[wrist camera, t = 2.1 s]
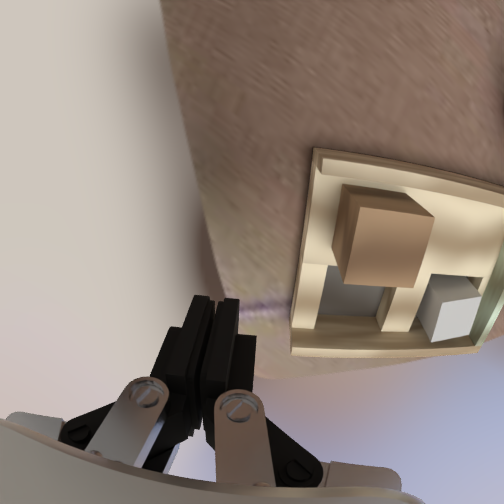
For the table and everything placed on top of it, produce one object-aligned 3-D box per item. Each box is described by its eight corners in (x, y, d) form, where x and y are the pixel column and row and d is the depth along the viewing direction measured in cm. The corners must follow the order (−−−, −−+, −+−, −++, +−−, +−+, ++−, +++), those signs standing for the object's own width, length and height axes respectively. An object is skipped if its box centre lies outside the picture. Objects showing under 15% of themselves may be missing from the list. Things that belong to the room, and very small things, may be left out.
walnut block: (342, 183, 21) (360, 206, 16) (405, 193, 21) (435, 217, 16) (331, 247, 23) (343, 283, 19) (391, 253, 23) (413, 288, 19)
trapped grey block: (423, 274, 26) (442, 302, 22) (460, 270, 26) (482, 296, 22) (415, 312, 28) (430, 342, 24) (451, 307, 28) (468, 334, 24)
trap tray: (313, 146, 22) (323, 158, 18) (508, 188, 22) (539, 206, 17) (289, 318, 30) (290, 355, 25) (459, 323, 29) (477, 352, 25)
